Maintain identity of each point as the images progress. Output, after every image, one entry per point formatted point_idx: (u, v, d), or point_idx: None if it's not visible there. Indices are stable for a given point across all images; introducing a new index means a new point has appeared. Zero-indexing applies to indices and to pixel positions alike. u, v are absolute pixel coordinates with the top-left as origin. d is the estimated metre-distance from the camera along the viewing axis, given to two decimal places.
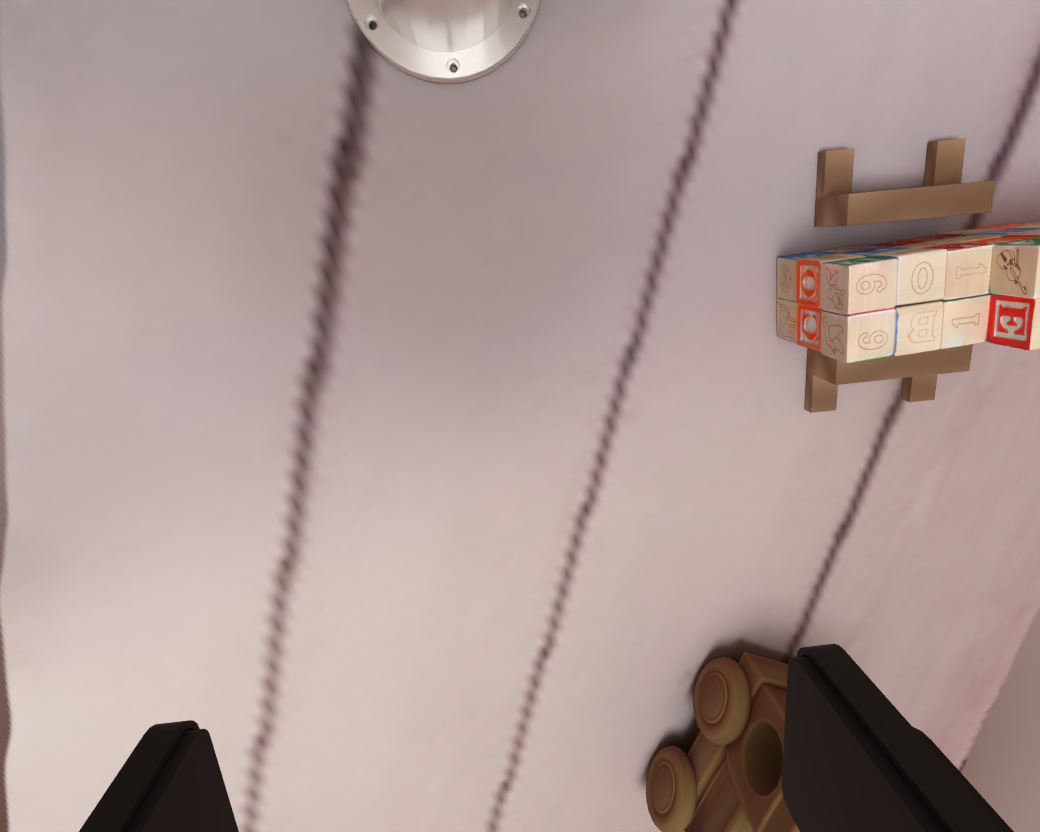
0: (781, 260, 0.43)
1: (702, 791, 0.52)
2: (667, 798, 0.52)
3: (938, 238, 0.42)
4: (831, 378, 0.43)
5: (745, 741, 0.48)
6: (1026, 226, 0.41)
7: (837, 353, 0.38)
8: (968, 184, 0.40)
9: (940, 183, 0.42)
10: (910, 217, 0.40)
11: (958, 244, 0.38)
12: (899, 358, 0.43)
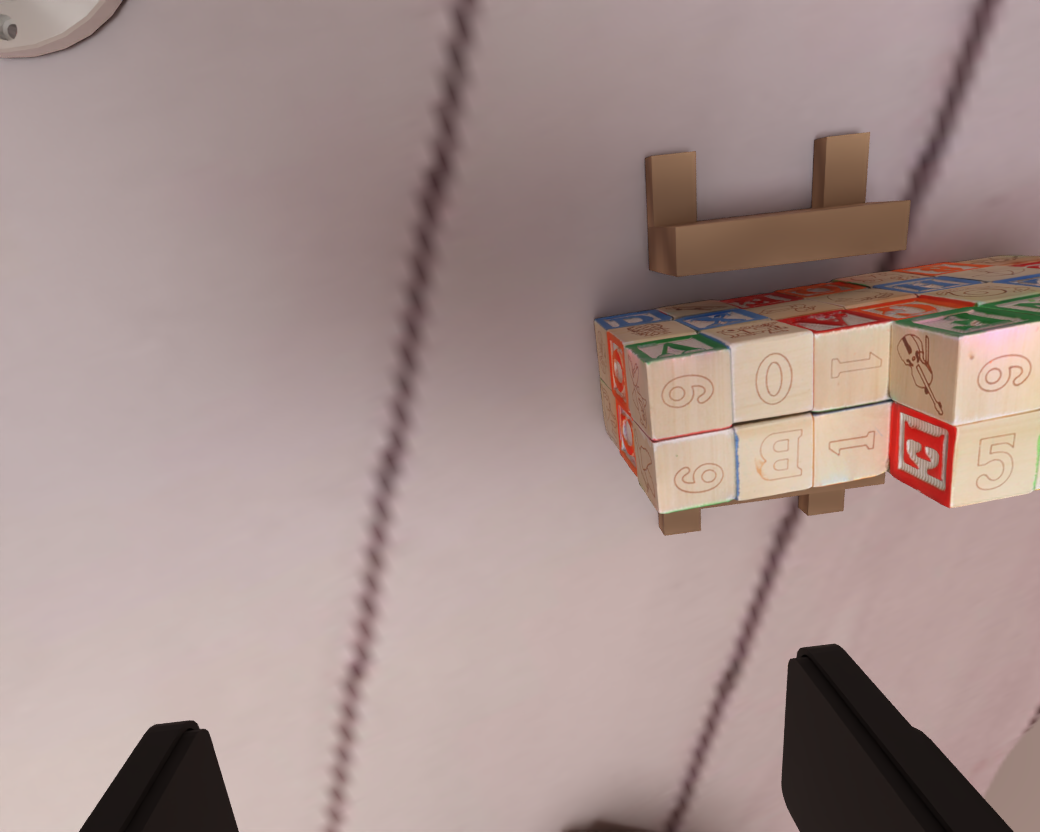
0: (596, 325, 0.29)
1: None
2: None
3: (829, 290, 0.28)
4: None
5: None
6: (961, 273, 0.26)
7: (650, 493, 0.23)
8: (868, 207, 0.25)
9: (834, 202, 0.28)
10: (778, 261, 0.25)
11: (844, 312, 0.23)
12: None
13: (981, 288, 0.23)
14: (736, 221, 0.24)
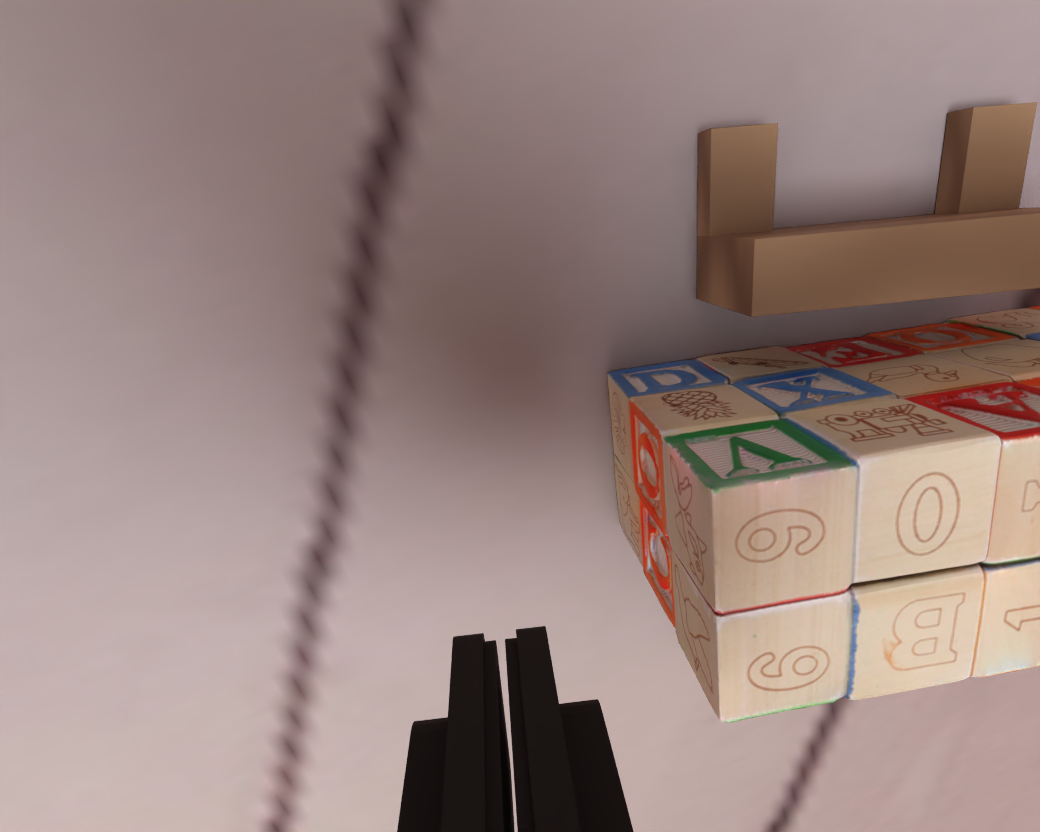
0: (611, 383, 0.20)
1: None
2: None
3: (957, 340, 0.19)
4: None
5: None
6: None
7: (702, 676, 0.15)
8: None
9: (974, 206, 0.19)
10: (908, 295, 0.16)
11: (1019, 389, 0.14)
12: None
13: None
14: (849, 232, 0.15)
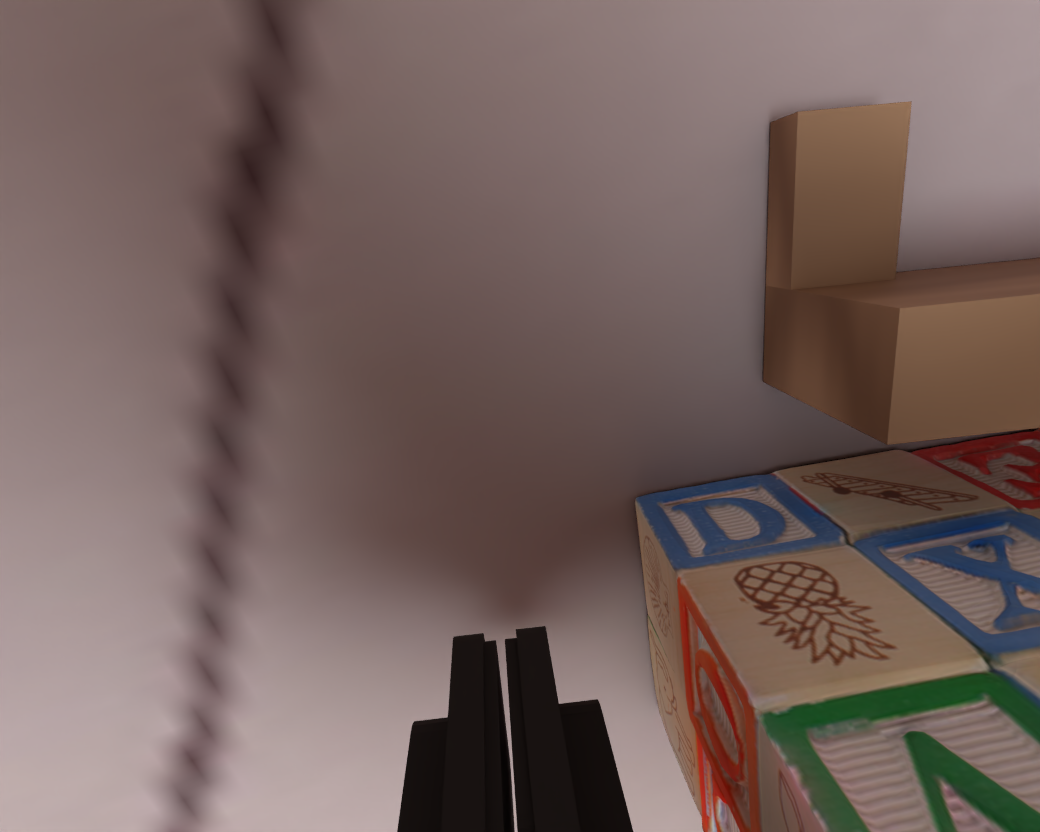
0: (643, 520, 0.12)
1: None
2: None
3: None
4: None
5: None
6: None
7: None
8: None
9: None
10: None
11: None
12: None
13: None
14: None
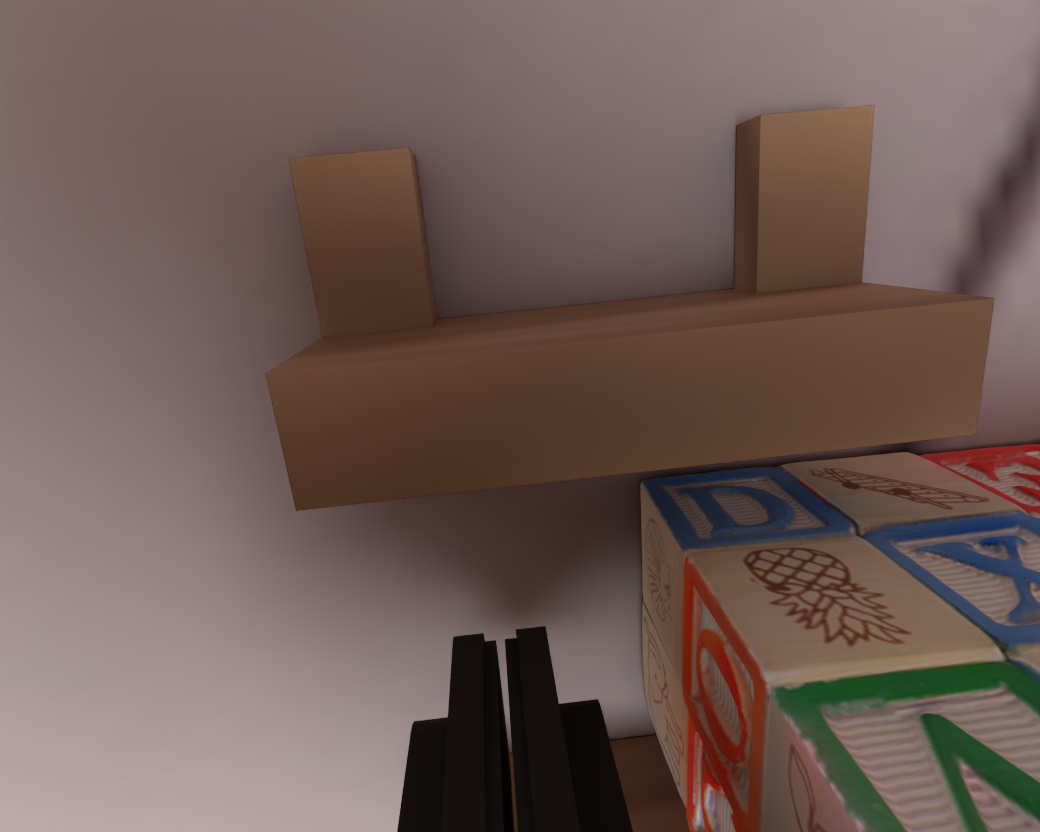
0: (648, 502, 0.12)
1: None
2: None
3: None
4: None
5: None
6: None
7: None
8: (865, 318, 0.08)
9: (784, 281, 0.11)
10: (599, 465, 0.09)
11: None
12: None
13: None
14: (458, 357, 0.08)
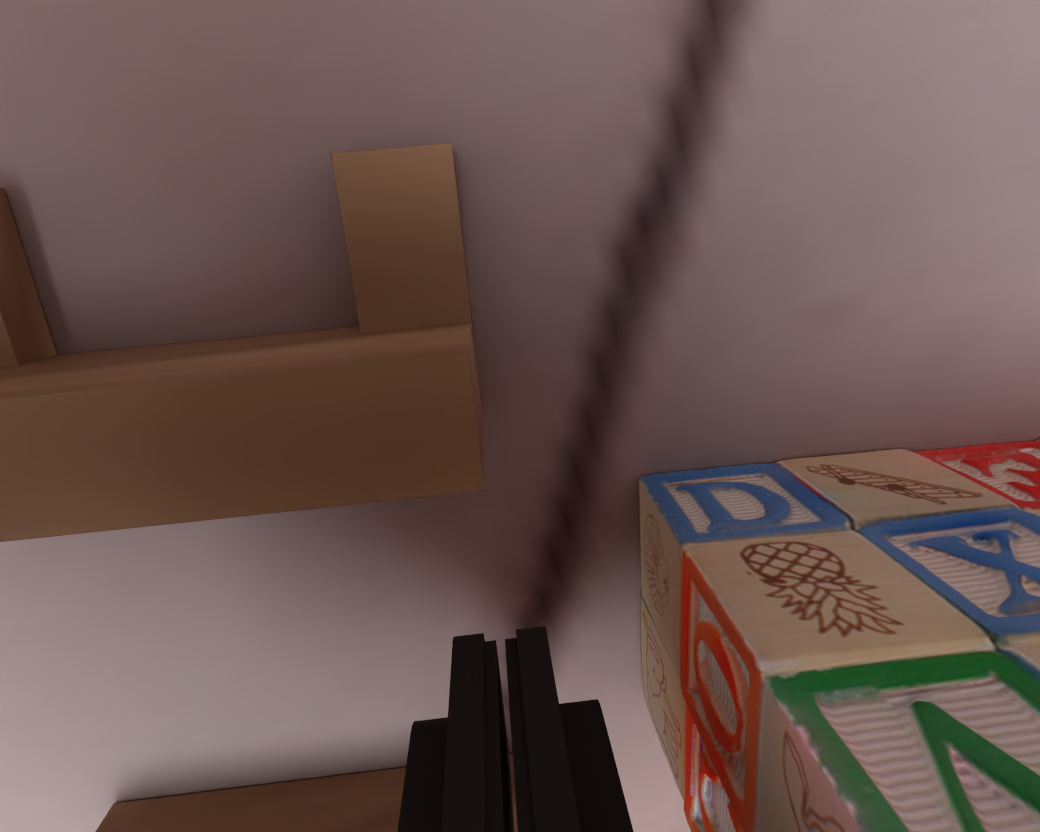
0: (647, 497, 0.12)
1: None
2: None
3: None
4: None
5: None
6: None
7: None
8: (332, 374, 0.08)
9: (387, 321, 0.11)
10: (79, 522, 0.08)
11: None
12: None
13: None
14: None
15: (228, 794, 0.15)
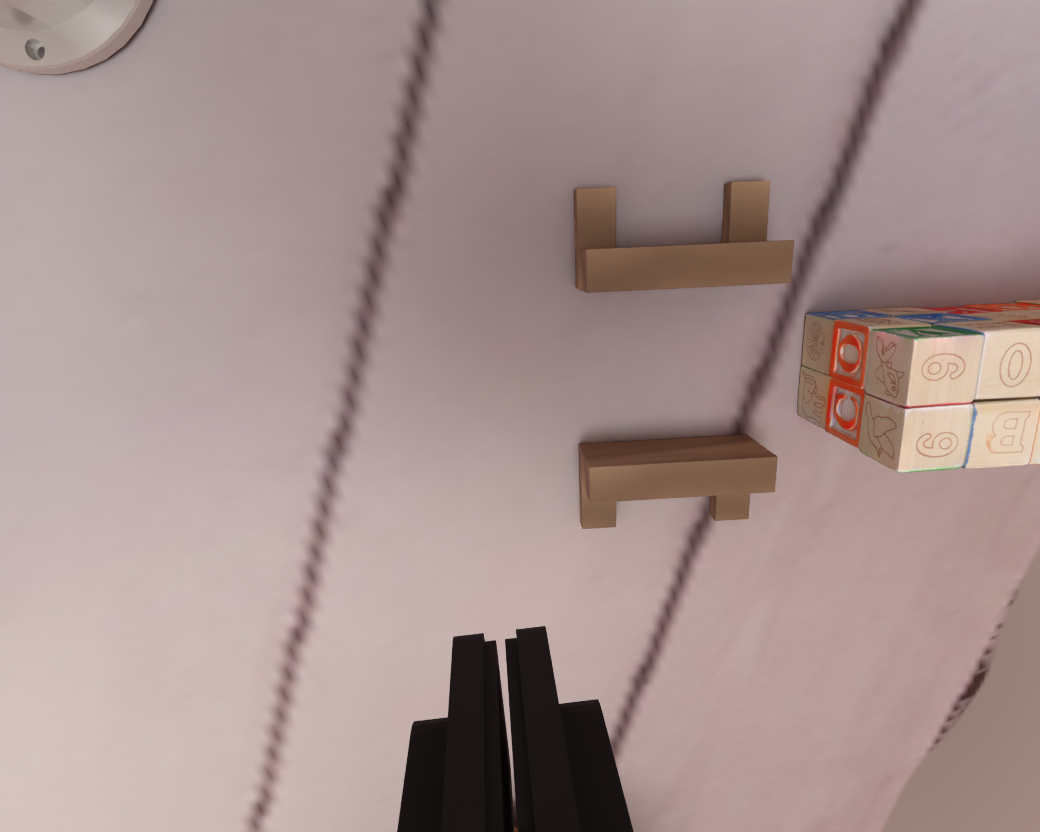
0: (811, 317, 0.33)
1: None
2: None
3: (1022, 308, 0.32)
4: (588, 492, 0.32)
5: None
6: None
7: (884, 456, 0.27)
8: (756, 244, 0.29)
9: (738, 239, 0.31)
10: (676, 284, 0.29)
11: None
12: (676, 471, 0.31)
13: None
14: (639, 248, 0.28)
15: (627, 441, 0.35)
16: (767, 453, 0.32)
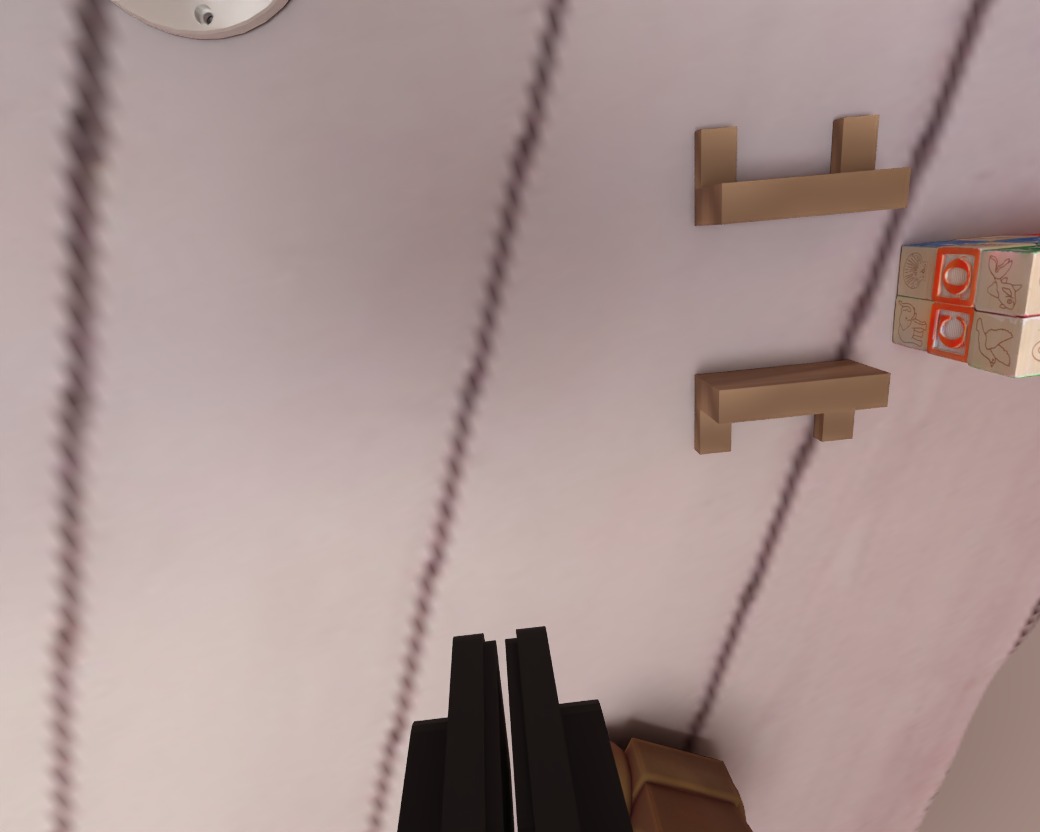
0: (909, 249, 0.35)
1: None
2: None
3: None
4: (715, 415, 0.35)
5: None
6: None
7: (998, 365, 0.30)
8: (876, 172, 0.31)
9: (849, 171, 0.34)
10: (803, 213, 0.31)
11: None
12: (798, 391, 0.34)
13: None
14: (770, 180, 0.31)
15: (739, 371, 0.38)
16: (879, 371, 0.35)
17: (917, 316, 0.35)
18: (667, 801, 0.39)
